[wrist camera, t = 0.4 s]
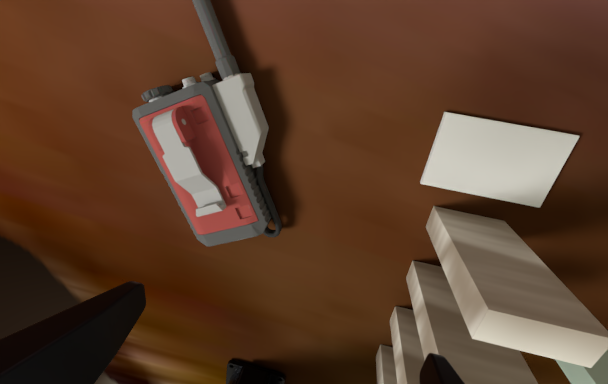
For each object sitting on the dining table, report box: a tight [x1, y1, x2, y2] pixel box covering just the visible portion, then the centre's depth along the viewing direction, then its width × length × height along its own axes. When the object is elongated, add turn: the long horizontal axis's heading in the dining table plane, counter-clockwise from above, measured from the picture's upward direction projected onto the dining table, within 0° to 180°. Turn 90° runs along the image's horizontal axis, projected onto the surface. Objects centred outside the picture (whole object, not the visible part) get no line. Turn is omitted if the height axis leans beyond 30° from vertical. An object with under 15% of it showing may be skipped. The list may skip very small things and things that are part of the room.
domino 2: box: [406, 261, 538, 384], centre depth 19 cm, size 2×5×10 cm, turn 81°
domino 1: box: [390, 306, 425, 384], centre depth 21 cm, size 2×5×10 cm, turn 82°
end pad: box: [420, 112, 580, 208], centre depth 19 cm, size 5×8×1 cm, turn 81°
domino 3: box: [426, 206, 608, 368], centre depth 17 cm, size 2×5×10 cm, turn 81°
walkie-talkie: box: [132, 0, 282, 246], centre depth 20 cm, size 9×4×20 cm
